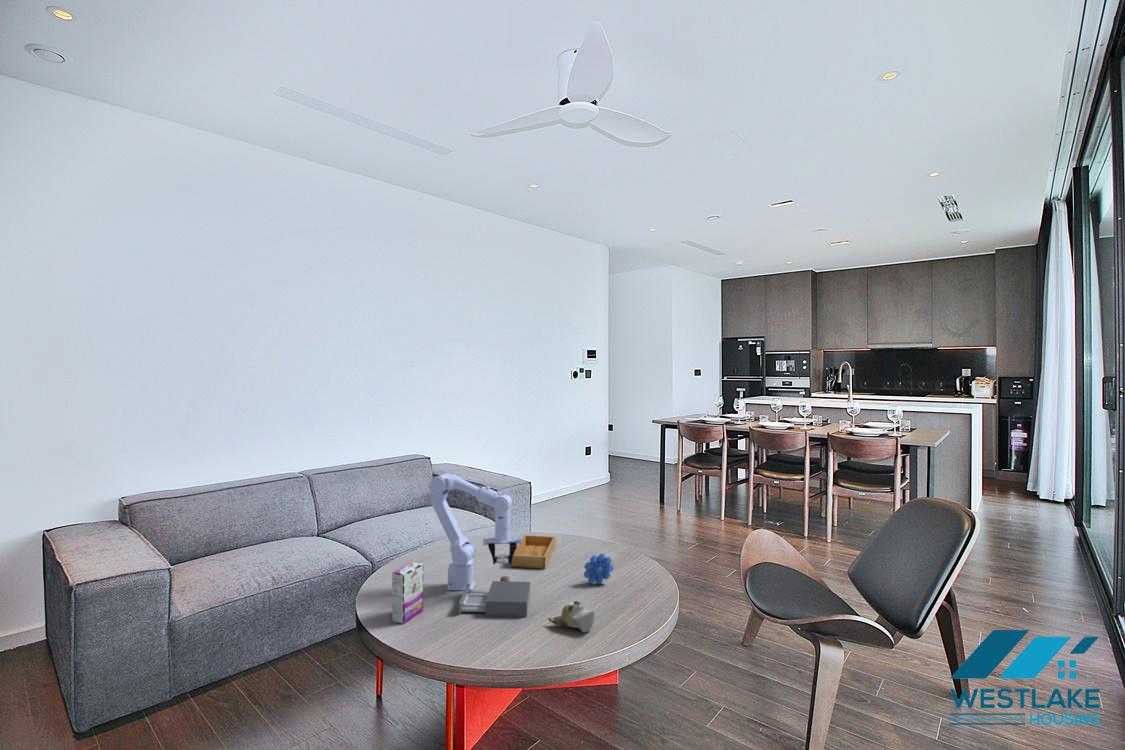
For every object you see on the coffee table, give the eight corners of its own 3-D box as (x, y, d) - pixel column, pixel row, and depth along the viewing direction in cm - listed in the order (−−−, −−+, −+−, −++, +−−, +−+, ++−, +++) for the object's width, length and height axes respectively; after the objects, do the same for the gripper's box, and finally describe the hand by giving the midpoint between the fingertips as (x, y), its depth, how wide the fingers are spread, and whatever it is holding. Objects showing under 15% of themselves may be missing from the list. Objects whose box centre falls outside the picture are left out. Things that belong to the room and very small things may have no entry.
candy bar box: (411, 608, 189) (412, 561, 189) (423, 610, 188) (424, 563, 188) (390, 622, 179) (391, 572, 179) (403, 624, 177) (404, 574, 177)
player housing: (485, 616, 184) (485, 601, 184) (492, 594, 202) (492, 581, 202) (526, 617, 184) (527, 602, 184) (530, 595, 202) (530, 581, 202)
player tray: (458, 613, 184) (458, 603, 184) (467, 593, 202) (467, 583, 202) (497, 614, 184) (498, 604, 184) (503, 593, 202) (503, 584, 202)
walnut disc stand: (496, 591, 205) (496, 580, 205) (497, 585, 211) (498, 574, 211) (511, 591, 205) (512, 581, 205) (513, 585, 211) (513, 575, 211)
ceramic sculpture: (584, 611, 169) (546, 601, 178) (585, 639, 169) (547, 628, 178) (602, 600, 178) (565, 591, 187) (603, 627, 177) (566, 617, 186)
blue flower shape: (611, 579, 219) (611, 549, 219) (614, 586, 212) (614, 555, 212) (582, 580, 218) (582, 550, 218) (584, 586, 211) (584, 555, 211)
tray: (524, 545, 261) (524, 534, 261) (555, 547, 259) (555, 535, 259) (509, 568, 231) (510, 555, 231) (545, 570, 229) (545, 557, 229)
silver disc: (495, 564, 203) (495, 559, 203) (494, 559, 208) (494, 554, 208) (510, 563, 204) (510, 558, 204) (508, 558, 209) (508, 553, 209)
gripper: (483, 530, 201) (483, 567, 201) (522, 529, 203) (522, 565, 203) (483, 525, 208) (482, 561, 208) (521, 524, 210) (520, 559, 210)
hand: (502, 563), depth 206 cm, fingers closed on silver disc, 5 cm apart
